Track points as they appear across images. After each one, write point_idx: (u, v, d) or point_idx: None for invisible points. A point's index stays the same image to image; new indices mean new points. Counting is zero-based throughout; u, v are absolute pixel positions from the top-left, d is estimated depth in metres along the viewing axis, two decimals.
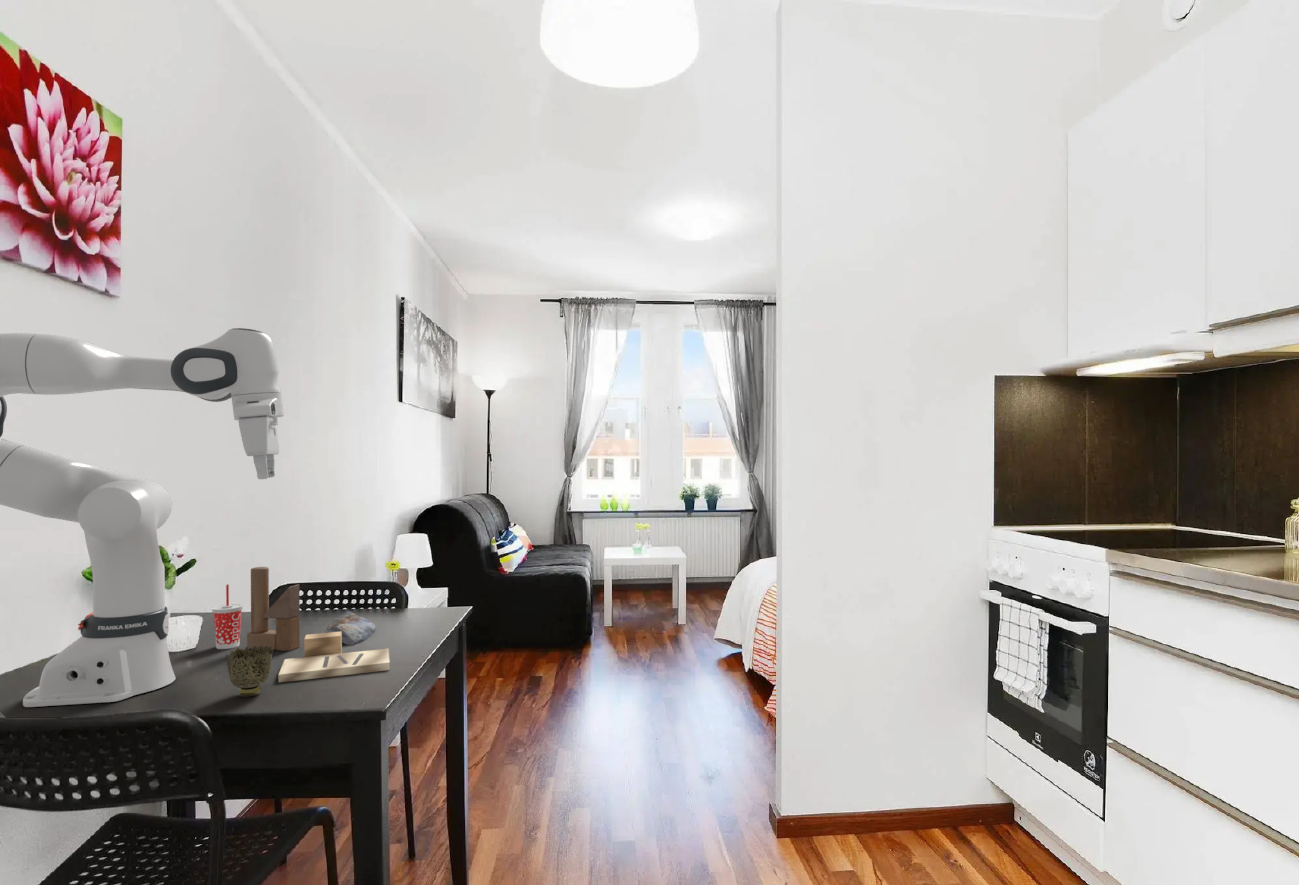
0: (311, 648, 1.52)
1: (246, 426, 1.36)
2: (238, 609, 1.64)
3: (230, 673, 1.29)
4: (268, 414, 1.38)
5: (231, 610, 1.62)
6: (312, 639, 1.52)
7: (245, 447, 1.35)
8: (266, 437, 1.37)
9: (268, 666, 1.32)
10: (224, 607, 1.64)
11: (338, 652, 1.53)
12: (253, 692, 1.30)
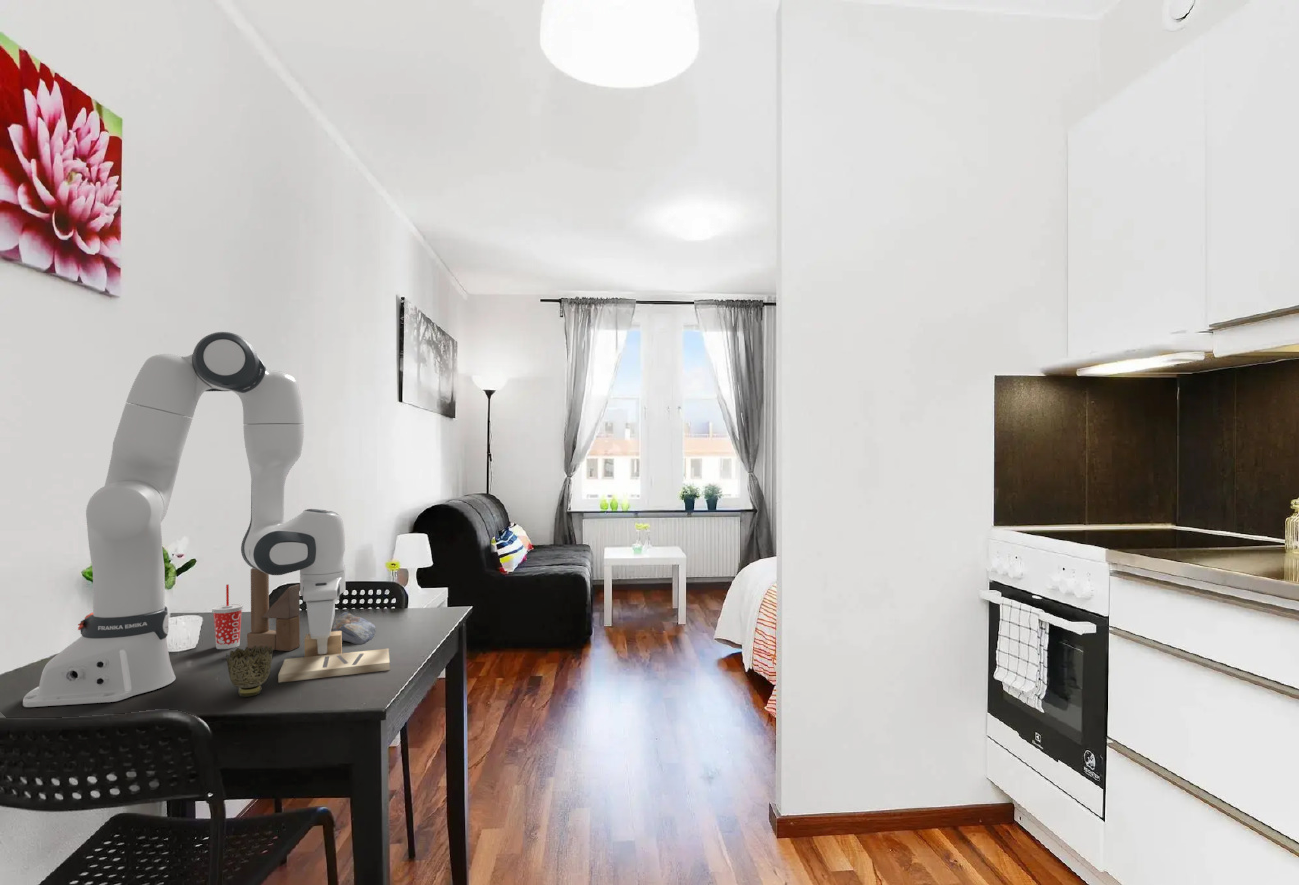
0: (311, 647, 1.52)
1: (313, 611, 1.45)
2: (238, 609, 1.64)
3: (230, 673, 1.29)
4: (334, 598, 1.48)
5: (231, 610, 1.62)
6: None
7: (310, 631, 1.44)
8: (330, 622, 1.46)
9: (268, 666, 1.32)
10: (224, 607, 1.64)
11: (338, 651, 1.53)
12: (253, 692, 1.30)
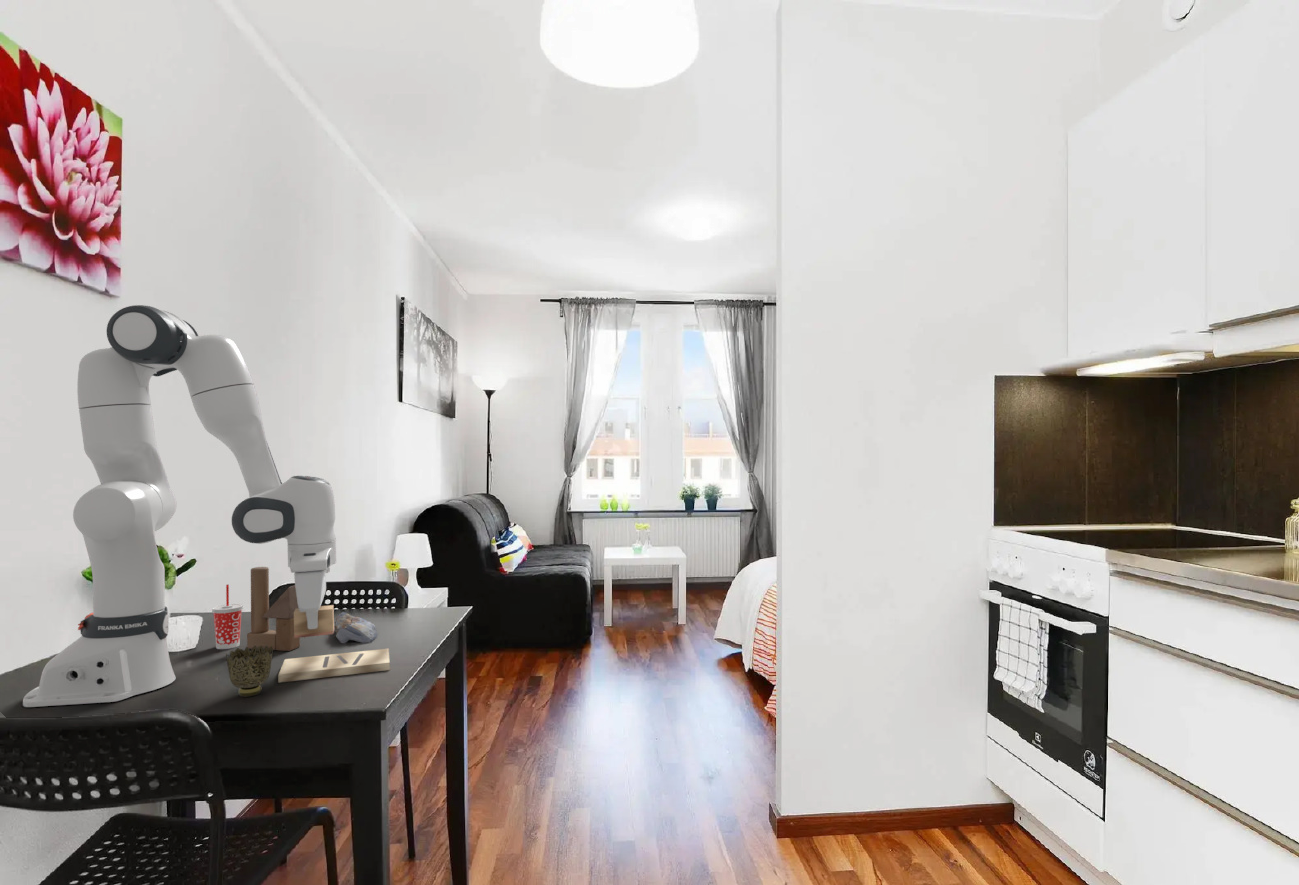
0: (301, 622, 1.43)
1: (301, 582, 1.36)
2: (238, 609, 1.64)
3: (230, 673, 1.29)
4: (324, 569, 1.39)
5: (231, 610, 1.62)
6: (302, 612, 1.43)
7: (299, 604, 1.36)
8: (320, 594, 1.37)
9: (268, 666, 1.32)
10: (224, 607, 1.64)
11: (330, 626, 1.45)
12: (253, 692, 1.30)
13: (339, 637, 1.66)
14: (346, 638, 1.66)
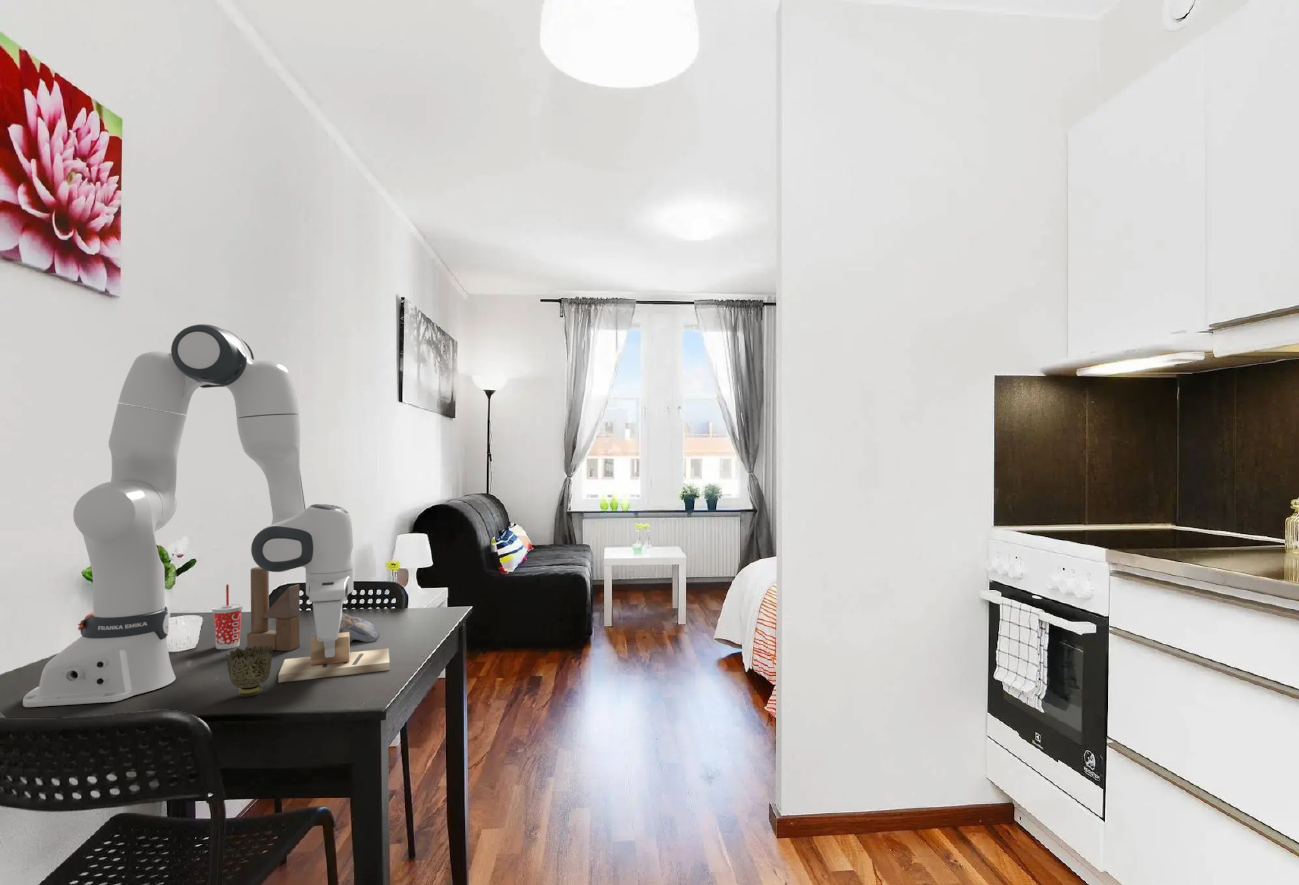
0: (318, 649, 1.44)
1: (320, 611, 1.37)
2: (238, 609, 1.64)
3: (230, 673, 1.29)
4: (342, 598, 1.40)
5: (231, 610, 1.62)
6: None
7: (317, 633, 1.37)
8: (338, 623, 1.38)
9: (268, 666, 1.32)
10: (224, 607, 1.64)
11: (346, 654, 1.46)
12: (253, 692, 1.30)
13: None
14: (350, 637, 1.66)
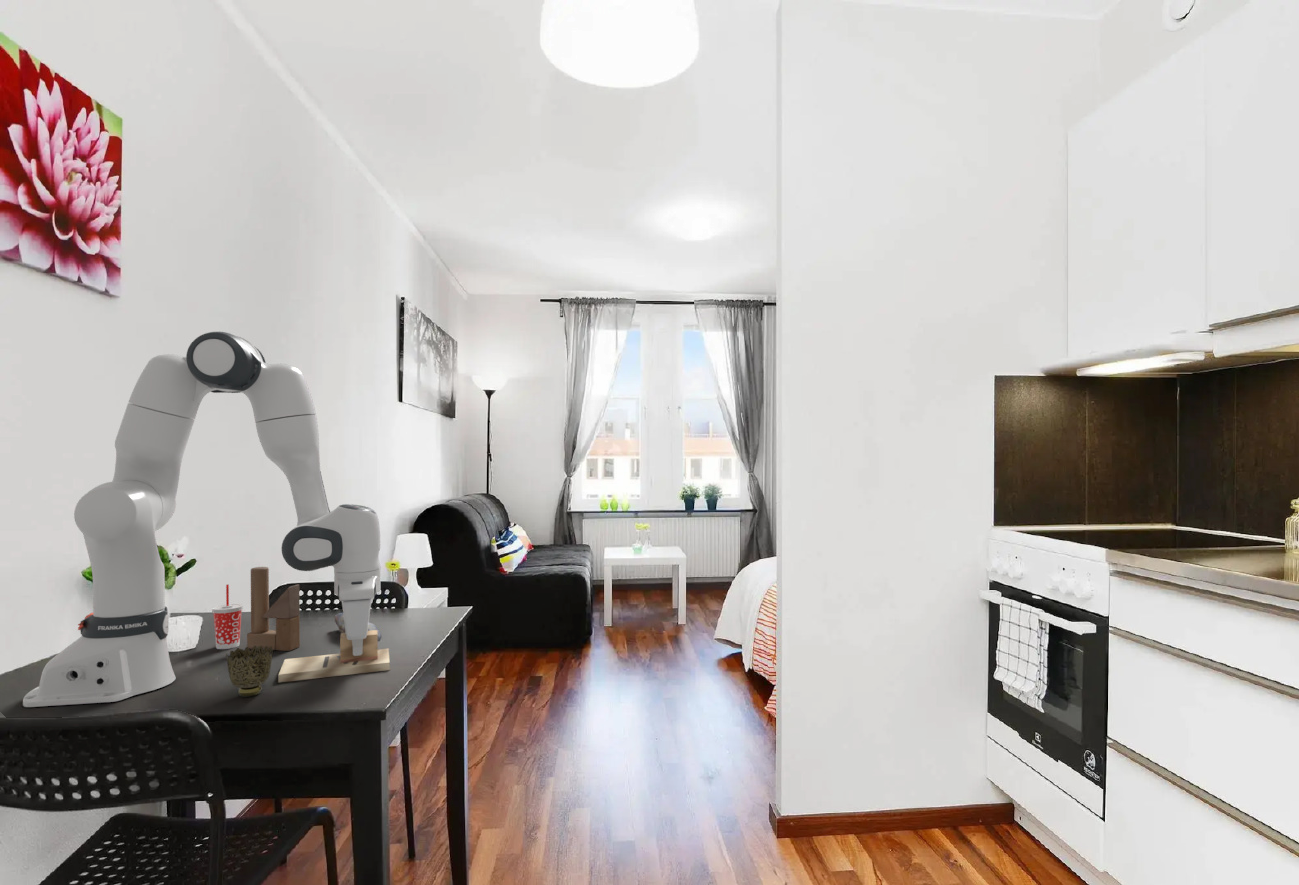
0: (347, 647, 1.46)
1: (349, 610, 1.39)
2: (238, 609, 1.64)
3: (230, 673, 1.29)
4: (371, 598, 1.42)
5: (231, 610, 1.62)
6: None
7: (347, 632, 1.38)
8: (367, 622, 1.40)
9: (268, 666, 1.32)
10: (224, 607, 1.64)
11: (375, 651, 1.48)
12: (253, 692, 1.30)
13: None
14: None
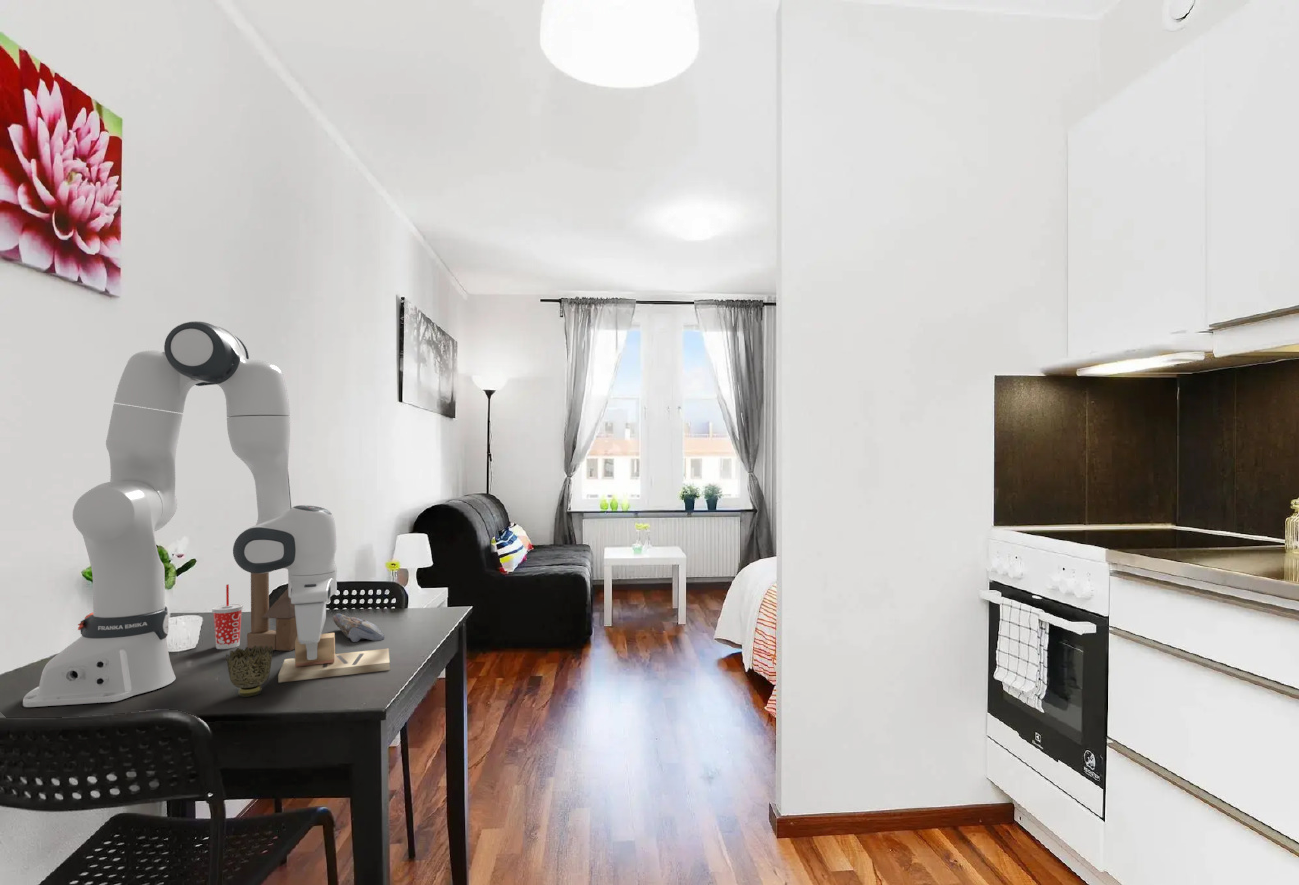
0: (302, 650, 1.43)
1: (302, 614, 1.36)
2: (238, 609, 1.64)
3: (230, 673, 1.29)
4: (324, 601, 1.39)
5: (231, 610, 1.62)
6: None
7: (298, 636, 1.35)
8: (320, 626, 1.37)
9: (268, 666, 1.32)
10: (224, 607, 1.64)
11: (331, 655, 1.45)
12: (253, 692, 1.30)
13: (351, 636, 1.66)
14: (358, 637, 1.67)
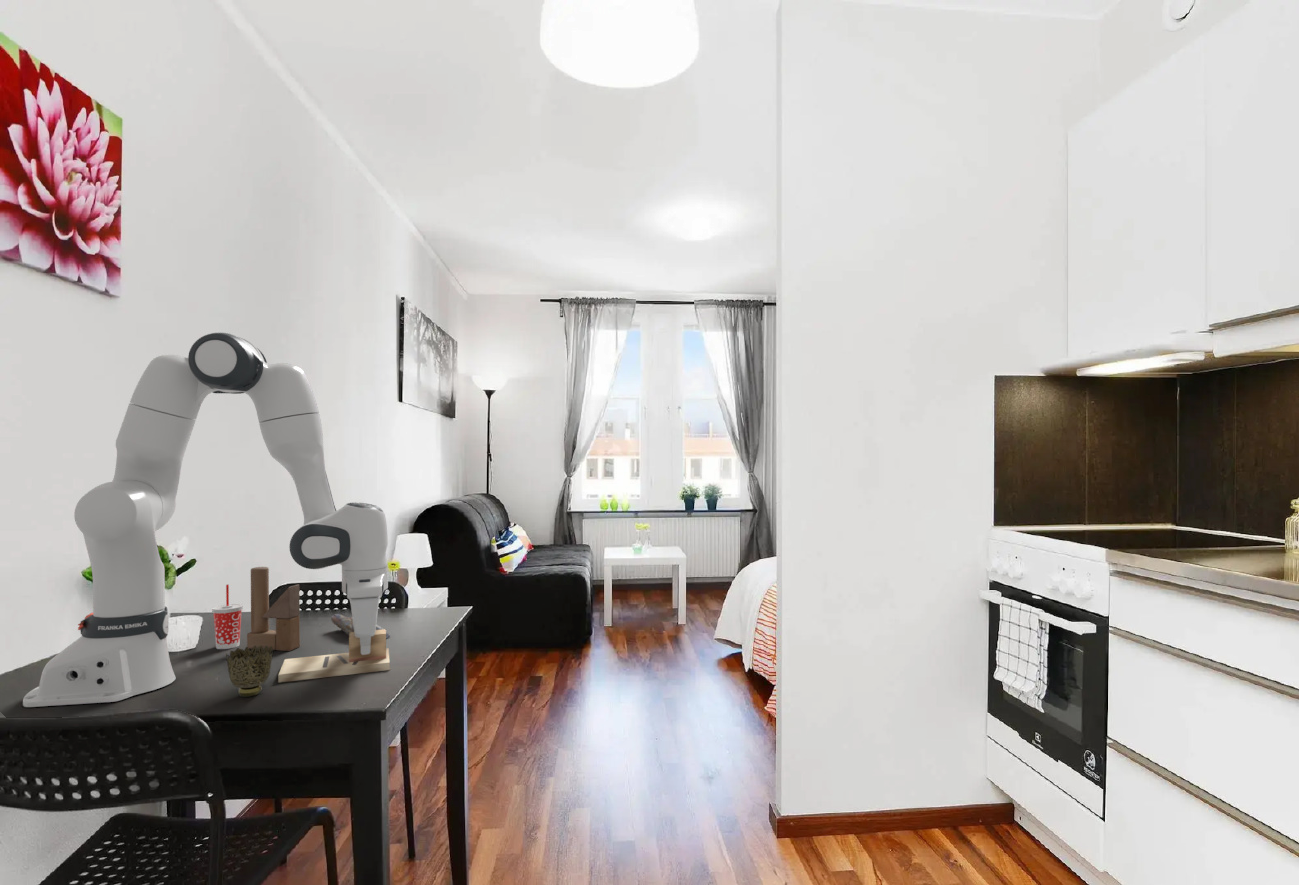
0: (356, 646, 1.46)
1: (358, 608, 1.40)
2: (238, 609, 1.64)
3: (230, 673, 1.29)
4: (379, 595, 1.42)
5: (231, 610, 1.62)
6: None
7: (355, 629, 1.39)
8: (375, 620, 1.41)
9: (268, 666, 1.32)
10: (224, 607, 1.64)
11: (383, 651, 1.48)
12: (253, 692, 1.30)
13: None
14: None
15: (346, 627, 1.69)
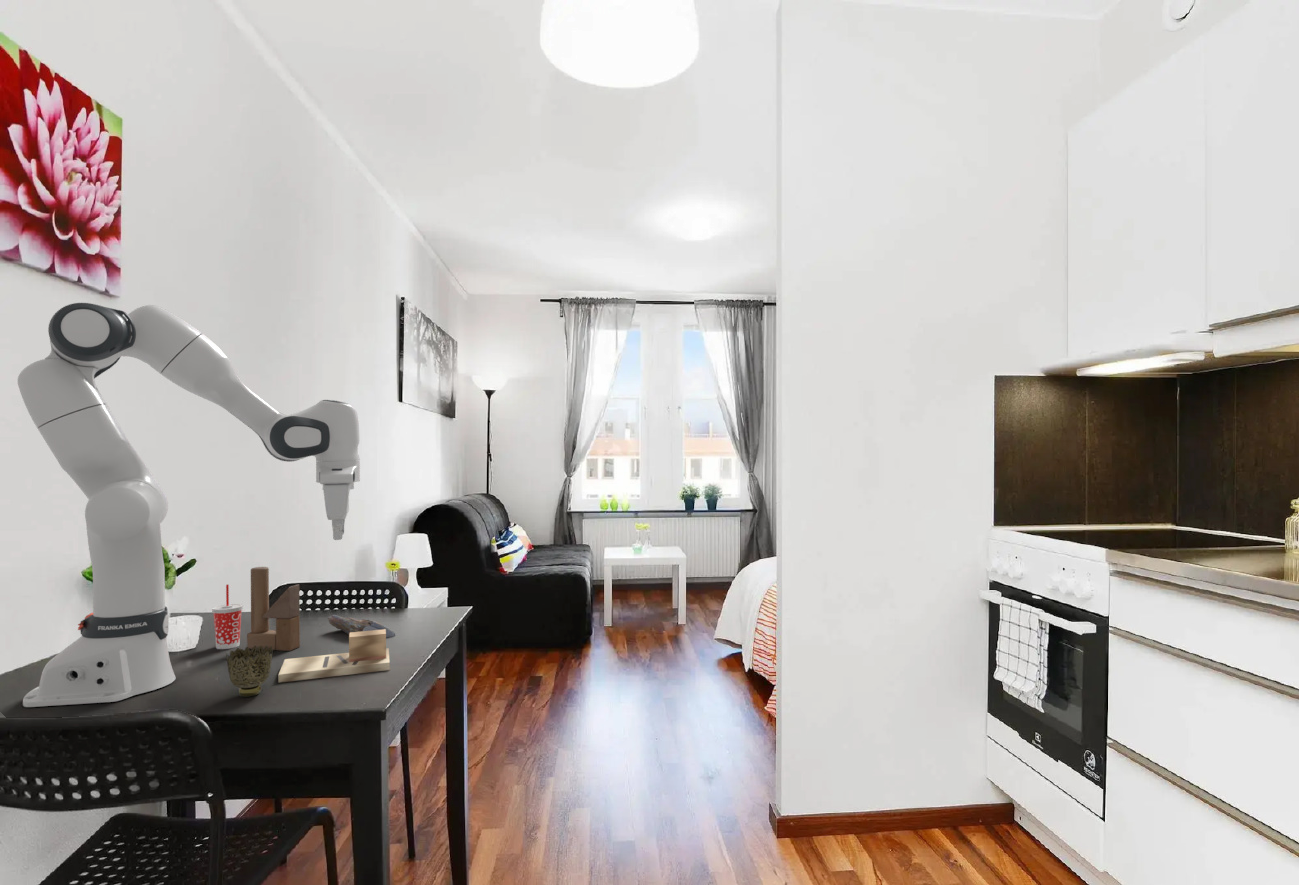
0: (356, 646, 1.46)
1: (330, 492, 1.50)
2: (238, 609, 1.64)
3: (230, 673, 1.29)
4: (350, 482, 1.53)
5: (231, 610, 1.62)
6: (357, 637, 1.46)
7: (327, 511, 1.49)
8: (346, 504, 1.51)
9: (268, 666, 1.32)
10: (224, 607, 1.64)
11: (383, 651, 1.48)
12: (253, 692, 1.30)
13: None
14: None
15: (351, 627, 1.69)
